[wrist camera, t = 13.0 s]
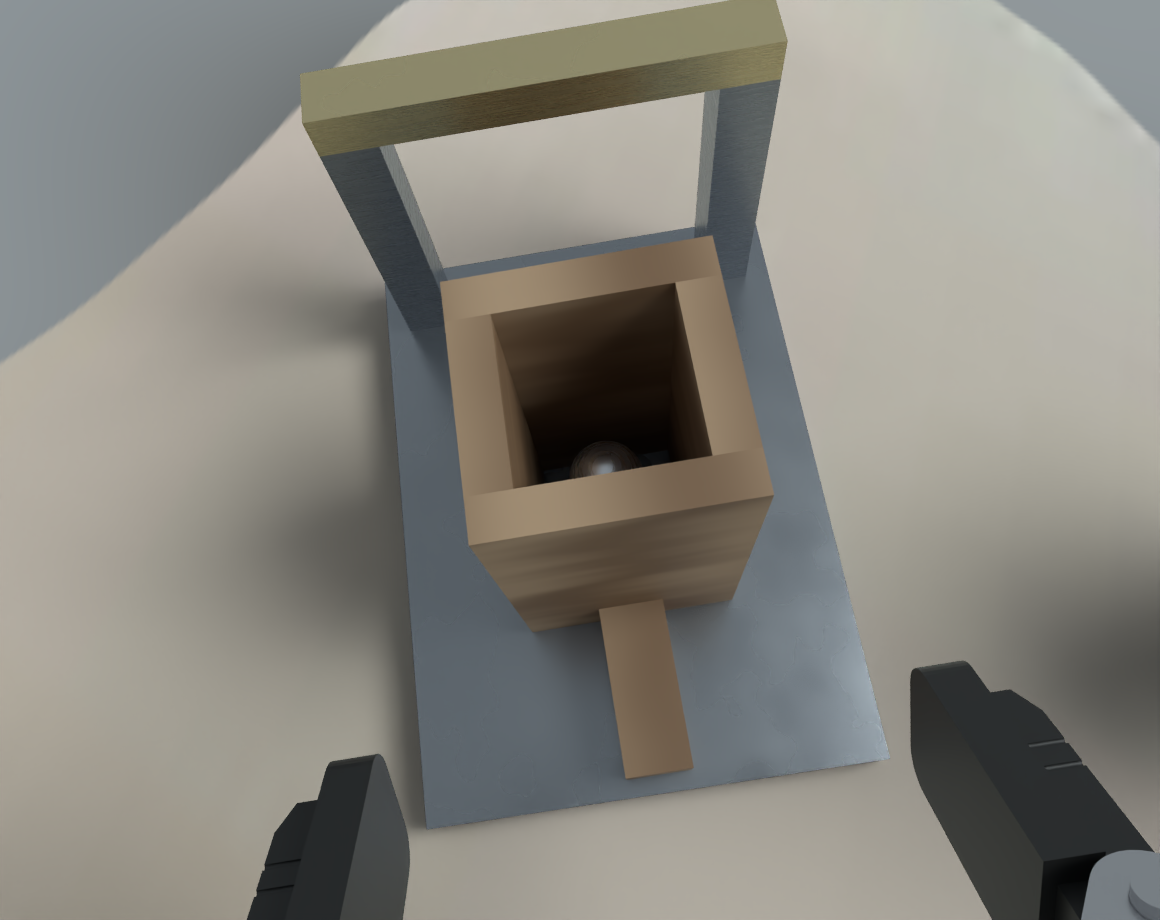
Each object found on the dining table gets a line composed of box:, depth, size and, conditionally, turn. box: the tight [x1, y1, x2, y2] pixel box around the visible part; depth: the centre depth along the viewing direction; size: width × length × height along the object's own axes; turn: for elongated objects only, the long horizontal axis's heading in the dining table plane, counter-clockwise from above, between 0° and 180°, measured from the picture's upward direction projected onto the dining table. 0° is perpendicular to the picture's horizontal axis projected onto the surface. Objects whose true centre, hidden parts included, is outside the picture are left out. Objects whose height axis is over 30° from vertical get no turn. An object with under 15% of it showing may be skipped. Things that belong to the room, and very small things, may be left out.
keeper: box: [300, 0, 890, 829], centre depth 24 cm, size 18×13×11 cm
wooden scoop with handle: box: [440, 235, 774, 780], centre depth 23 cm, size 6×10×10 cm, turn 9°
